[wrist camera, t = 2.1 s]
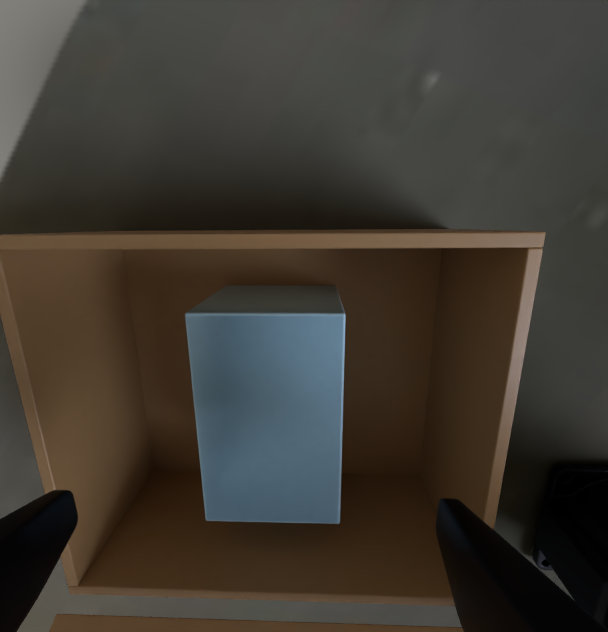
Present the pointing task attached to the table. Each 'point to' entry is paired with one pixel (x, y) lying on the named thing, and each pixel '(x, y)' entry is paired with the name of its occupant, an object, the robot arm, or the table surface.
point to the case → (269, 402)
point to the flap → (216, 625)
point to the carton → (179, 414)
